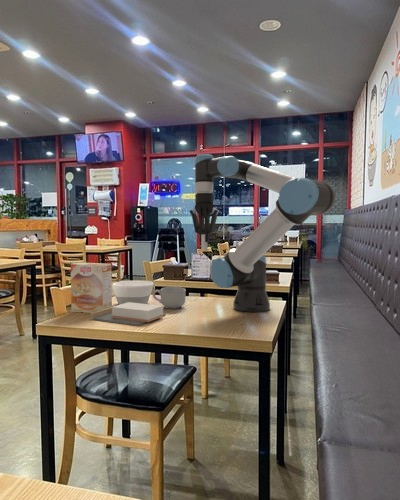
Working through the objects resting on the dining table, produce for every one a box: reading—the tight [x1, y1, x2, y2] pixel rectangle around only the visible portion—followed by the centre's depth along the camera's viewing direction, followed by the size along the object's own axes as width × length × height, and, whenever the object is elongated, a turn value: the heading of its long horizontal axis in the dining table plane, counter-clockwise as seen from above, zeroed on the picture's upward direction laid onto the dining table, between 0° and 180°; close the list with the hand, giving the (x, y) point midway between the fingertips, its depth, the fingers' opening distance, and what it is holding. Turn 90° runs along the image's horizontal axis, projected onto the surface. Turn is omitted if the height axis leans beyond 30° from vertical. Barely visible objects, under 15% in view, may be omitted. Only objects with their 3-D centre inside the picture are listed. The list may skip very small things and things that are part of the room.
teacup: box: [152, 286, 187, 310], centre depth 169 cm, size 14×11×8 cm
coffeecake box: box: [70, 262, 113, 314], centre depth 161 cm, size 15×7×20 cm, turn 70°
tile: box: [112, 302, 164, 323], centre depth 149 cm, size 4×10×16 cm
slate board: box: [90, 306, 166, 327], centre depth 151 cm, size 21×18×2 cm
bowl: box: [112, 280, 155, 305], centre depth 176 cm, size 18×18×9 cm
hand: (204, 250), depth 166 cm, fingers closed
